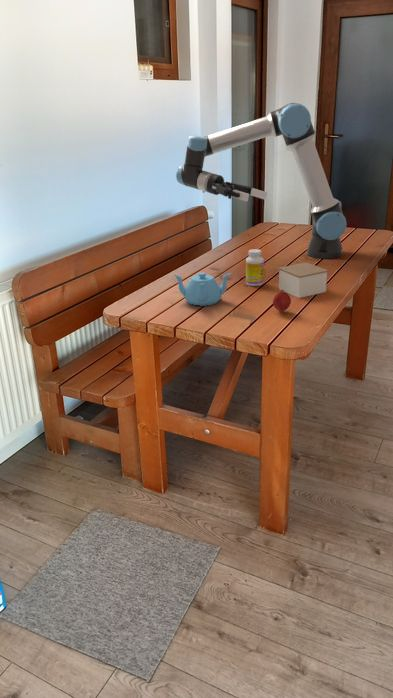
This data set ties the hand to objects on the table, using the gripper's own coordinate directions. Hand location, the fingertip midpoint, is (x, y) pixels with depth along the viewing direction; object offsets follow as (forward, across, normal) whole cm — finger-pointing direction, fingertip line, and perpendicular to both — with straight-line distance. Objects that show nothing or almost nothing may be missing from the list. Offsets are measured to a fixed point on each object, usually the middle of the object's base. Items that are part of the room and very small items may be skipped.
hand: (257, 196), depth 216 cm
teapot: (+6, +34, -34) cm, 48 cm away
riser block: (+30, +7, -26) cm, 40 cm away
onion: (+34, +30, -28) cm, 53 cm away
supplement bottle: (+11, +8, -30) cm, 33 cm away
